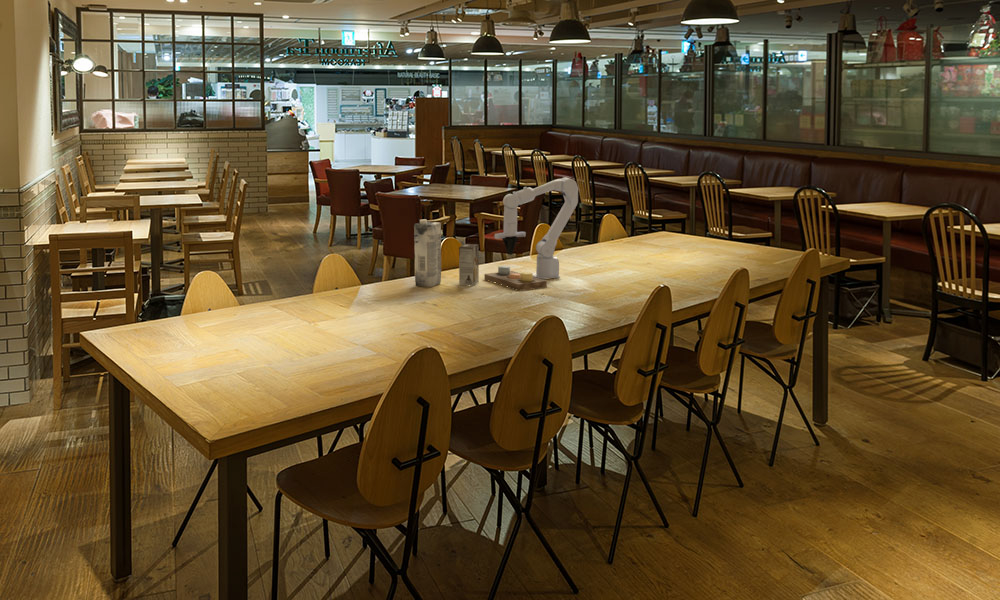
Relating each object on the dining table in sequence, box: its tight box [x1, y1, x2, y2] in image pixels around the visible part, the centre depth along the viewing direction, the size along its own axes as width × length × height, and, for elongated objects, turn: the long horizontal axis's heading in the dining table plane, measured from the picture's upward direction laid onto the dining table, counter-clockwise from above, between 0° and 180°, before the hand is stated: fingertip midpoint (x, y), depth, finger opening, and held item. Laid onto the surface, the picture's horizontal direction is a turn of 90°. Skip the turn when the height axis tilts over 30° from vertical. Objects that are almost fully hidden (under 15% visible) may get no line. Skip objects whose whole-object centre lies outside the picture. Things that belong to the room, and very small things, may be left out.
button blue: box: [497, 265, 511, 276], centre depth 374 cm, size 5×5×3 cm
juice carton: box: [413, 218, 442, 288], centre depth 360 cm, size 9×10×27 cm
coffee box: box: [458, 243, 480, 287], centre depth 365 cm, size 9×6×16 cm
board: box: [483, 270, 548, 291], centre depth 368 cm, size 14×26×2 cm, turn 32°
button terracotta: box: [509, 273, 521, 279], centre depth 367 cm, size 5×5×3 cm
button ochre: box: [520, 271, 534, 283], centre depth 360 cm, size 5×5×3 cm
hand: (509, 254), depth 376 cm, fingers closed
